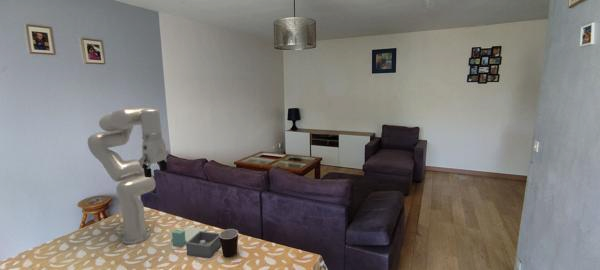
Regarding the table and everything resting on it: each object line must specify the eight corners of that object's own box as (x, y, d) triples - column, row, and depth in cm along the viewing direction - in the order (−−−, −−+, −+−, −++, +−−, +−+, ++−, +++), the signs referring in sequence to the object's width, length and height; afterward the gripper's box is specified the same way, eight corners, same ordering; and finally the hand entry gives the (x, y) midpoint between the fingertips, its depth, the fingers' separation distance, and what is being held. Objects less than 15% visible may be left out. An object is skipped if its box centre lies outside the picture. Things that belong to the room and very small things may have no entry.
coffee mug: (234, 260, 124) (233, 239, 123) (217, 258, 126) (215, 237, 124) (244, 245, 136) (243, 226, 134) (228, 243, 137) (227, 225, 136)
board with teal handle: (187, 228, 152) (186, 216, 151) (206, 231, 150) (205, 219, 148) (166, 244, 137) (165, 231, 136) (188, 247, 134) (187, 234, 133)
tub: (187, 254, 129) (185, 243, 128) (200, 241, 139) (199, 230, 138) (210, 258, 126) (209, 246, 125) (222, 244, 136) (221, 233, 135)
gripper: (144, 140, 114) (149, 180, 117) (172, 133, 130) (176, 168, 133) (129, 140, 115) (134, 179, 119) (159, 133, 132) (162, 167, 135)
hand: (156, 173), depth 126 cm, fingers open, 9 cm apart
